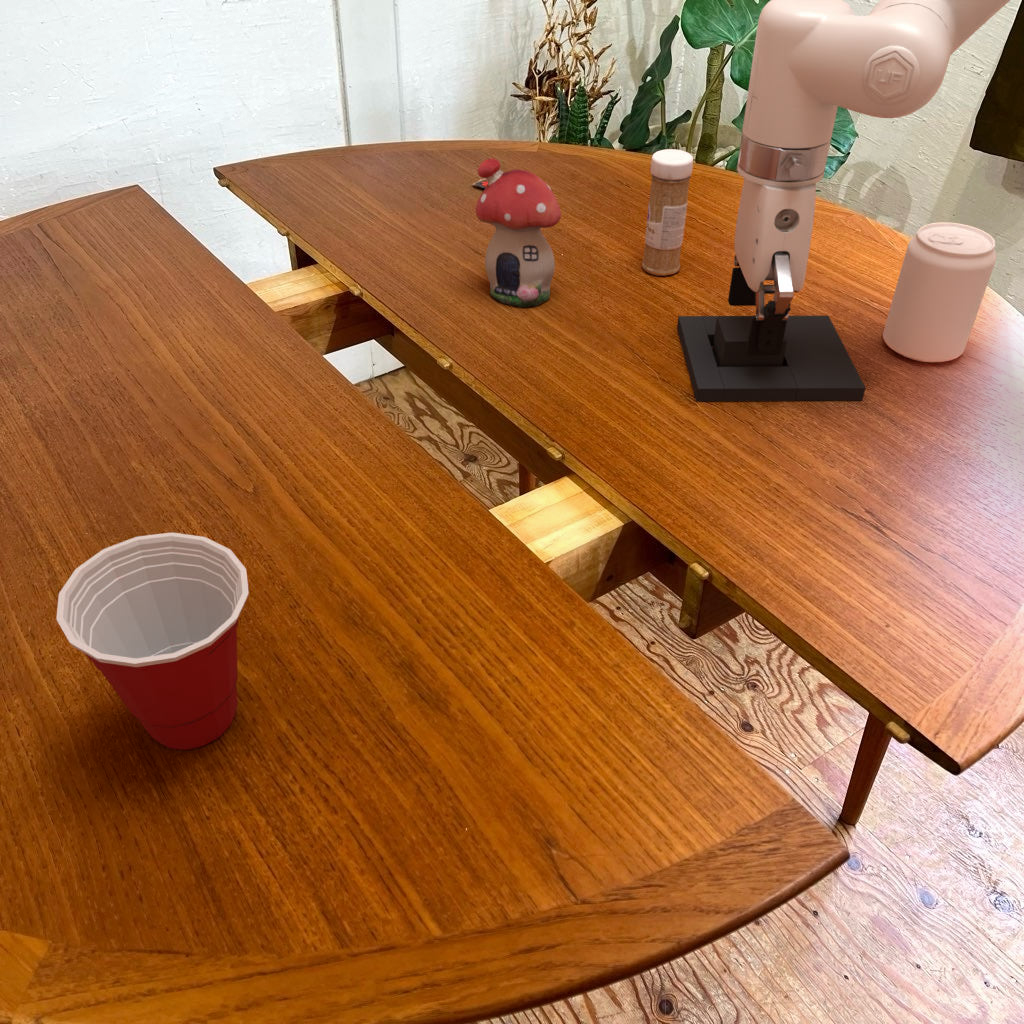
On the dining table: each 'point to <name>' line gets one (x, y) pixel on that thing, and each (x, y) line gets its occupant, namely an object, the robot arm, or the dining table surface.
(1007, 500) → the dining table surface
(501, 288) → the decorative ornament
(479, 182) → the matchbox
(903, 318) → the beverage can
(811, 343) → the base pad
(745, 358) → the small black block
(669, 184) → the sprinkles bottle
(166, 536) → the plastic cup
